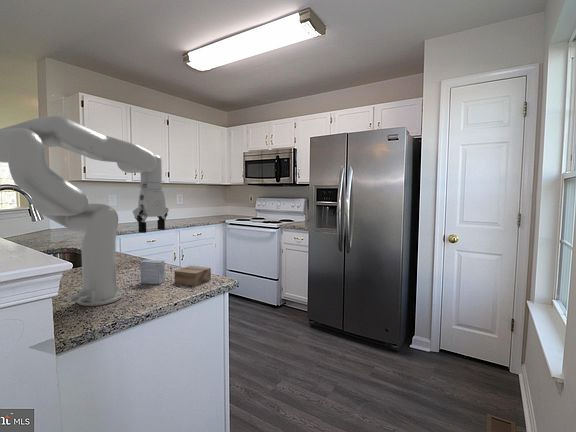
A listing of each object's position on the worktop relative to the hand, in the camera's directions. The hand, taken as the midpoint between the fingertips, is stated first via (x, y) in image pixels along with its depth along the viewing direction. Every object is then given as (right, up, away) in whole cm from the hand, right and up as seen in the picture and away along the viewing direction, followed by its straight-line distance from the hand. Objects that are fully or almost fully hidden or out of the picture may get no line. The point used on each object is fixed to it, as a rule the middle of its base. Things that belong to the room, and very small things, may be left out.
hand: (152, 231), depth 121 cm
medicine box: (0, -21, +1) cm, 21 cm away
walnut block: (+15, -21, +4) cm, 26 cm away
